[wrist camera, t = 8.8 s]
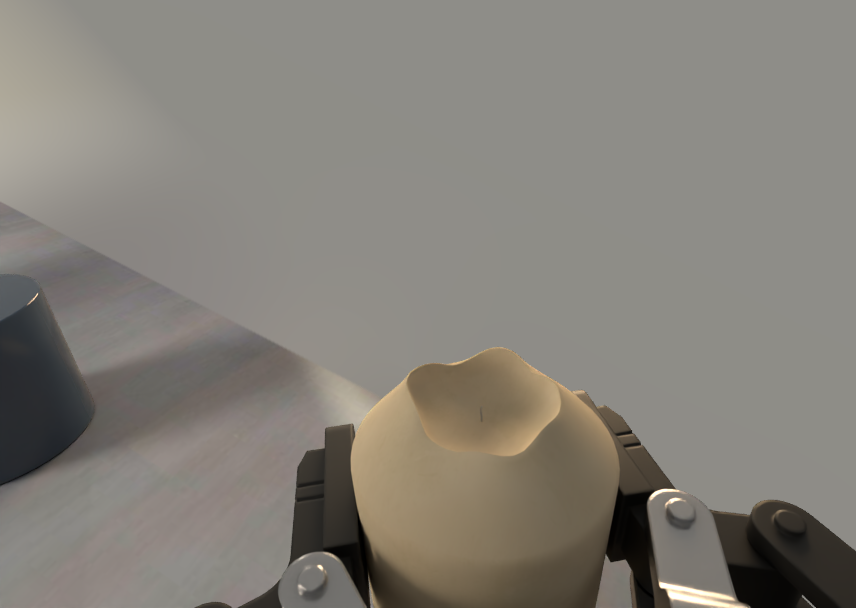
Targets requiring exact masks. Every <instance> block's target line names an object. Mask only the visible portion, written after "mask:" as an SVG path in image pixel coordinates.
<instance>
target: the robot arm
mask: <svg viewBox="0 0 856 608" xmlns="http://www.w3.org/2000/svg"><path fill="white" fill-rule="evenodd" d="M571 392H572V393H573V394H575V395H576V396H577V397H578V398H579V399H580V400H582V401H583V402H584V403H585V404H586V405H587V406H588V407H590V408H591V409H592V410H593V412H594V413H595V414H596V415H597V416H598V417H599V418H600V419H601V421H602V422H603V424H604V425H605V427H606V428H607V429H608V431H609V433H610V435H611V437H612V439H613V441H614V444H615V447H616V450H617V453H618V458H619V466H620V475H619V486H618V491H617V497H616V502H615V507H614V512H613V518H612V523H611V528H610V533H609V539H608V544H607V549H606V554H607V556H608V558H609V560H610V562H615V561H620V560H625V559H626V561H627V562H628V564H629V566H630V568H631V575H630V589H631V598H632V608H813V607H812V606H811V605H810V604H809V603H807V601H806V600H804V598H802V597H801V596H802V595H803V596H805V598H806V599H807V600H809V601H810V602H811V603H812V604H813V605H814V606H815V607H816V608H856V551H855V550H854V549H852V548H851V547H850V546H848V545H847V544H846V543H845V542H844V541H842V540H841V539H840V538H839V537H837V536H836V535H835V534H834V533H832V532H831V531H830V530H829V529H828V528H826V527H825V526H824V525H823V524H821V523H820V522H819V521H818V520H816V519H815V518H814V517H813V516H812V515H810V514H809V513H807V512H806V511H804V510H803V509H801V508H799V507H797V506H795V505H793V504H790V503H787V502H783V501H778V500H764V501H761V502H759V503H757V504H756V505H755V506H754V507H753V509H752V512H751V514H750V515H746V514H736V513H728V512H719V511H713V510H709V509H708V508H707V506H706V505H705V504H704V503H703V502H701V501H700V500H699V499H697V498H696V497H694V496H692V495H690V494H688V493H686V492H683V491H680V490H676V489H675V487H674V486H673V485H672V483H671V482H670V481H669V479H668V478H667V477H666V475H665V474H664V473H663V471H662V470H661V469H660V467H659V466H658V465H657V463H656V462H655V461H654V460H653V458H652V457H651V455H650V454H649V453H648V452H647V450H646V449H645V447H644V446H643V445H641V443H640V441H639V439H637V437H636V435H635V434H633V433H632V430H631V429H630V428H629V426H628V425H627V424H626V422H625V421H624V419H623V418H622V417H621V416H619V415H618V414H617V413H615V412H614V411H612V410H611V409H610V408H608V407H607V406H598V407H596V406H595V404H594V403H593V401H592V400H591V399H590V397H589V396H588V394H587V393H586V392H585V391H583V390H578V391H571ZM354 438H355V431H354V426H353V424H348V425H341V426H334V427H328V428H326V429H325V448H324V449H317V450H311V451H307V452H306V454H305V456H304V457H303V459H302V461H301V463H300V464H299V466H298V470H297V482H296V486H297V488H296V495H295V507H294V520H293V533H292V545H291V556H290V562H289V565H288V567H287V569H286V571H285V572H284V574H283V576H282V578H281V579H280V580H279V581H278V583H277V584H276V585H275V586H273V587H272V588H271V589H270V590H269V591H267V592H266V593H265V594H263V595H261V596H259V597H258V598H256V599H254V600H252V601H250V602H248V603H246V604H244V605H242V606H240V607H238V608H370V594H369V579H368V569H367V563H366V557H365V551H364V545H363V539H362V533H361V527H360V521H359V515H358V510H357V504H356V498H355V492H354V486H353V480H352V474H351V451H352V445H353V442H354ZM195 608H232V607H231V606H229V605H227V604H225V603H221V602H210V603H206V604H202V605H200V606H197V607H195Z"/></svg>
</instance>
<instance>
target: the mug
mask: <svg viewBox="0 0 856 608" xmlns="http://www.w3.org/2000/svg"><path fill="white" fill-rule="evenodd" d="M94 409H95V404H94V400H93V398H92V396H91V394H90V392H89V389H88V387H87V385H86V383H85V381H84V379H83V377H82V374H81V372H80V370H79V368H78V366H77V364H76V361H75V359H74V357H73V355H72V353H71V351H70V349H69V346H68V344H67V342H66V340H65V338H64V336H63V334H62V331H61V329H60V327H59V325H58V323H57V321H56V319H55V316H54V314H53V312H52V310H51V308H50V306H49V304H48V301H47V299H46V297H45V295H44V293H43V291H42V289H41V286H40V284H39V283H38V282H37V281H36V280H35V279H33V278H31V277H27V276H22V275H11V274H2V275H0V484H3V483H5V482H8V481H10V480H13V479H15V478H17V477H19V476H22V475H24V474H26V473H28V472H30V471H31V470H33V469H35V468H37V467H39V466H40V465H42V464H44V463H46V462H47V461H49V460H50V459H52V458H53V457H55V456H56V455H58V454H59V453H60V452H62V451H63V450H64V449H65V448H67V447H68V446H69V445H70V444H71V443H72V442H74V441H75V440H76V439H77V438H78V437H79V436H80V435H81V433H82V432H83V431H84V430H85V429H86V427H87V426H88V424H89V423H90V421H91V419H92V417H93V414H94Z"/></svg>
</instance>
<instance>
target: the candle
mask: <svg viewBox="0 0 856 608" xmlns="http://www.w3.org/2000/svg"><path fill="white" fill-rule="evenodd" d="M351 474H352V480H353V486H354V492H355V498H356V504H357V510H358V515H359V521H360V527H361V533H362V539H363V545H364V551H365V557H366V563H367V569H368V576H369V582H370V588H371V594H372V600H373V605H374V608H595V607H596V601H597V596H598V591H599V586H600V581H601V575H602V570H603V565H604V560H605V554H606V549H607V544H608V539H609V533H610V528H611V523H612V518H613V512H614V507H615V502H616V497H617V491H618V486H619V475H620V466H619V458H618V453H617V450H616V447H615V444H614V441H613V439H612V437H611V435H610V433H609V431H608V429H607V428H606V427H605V425H604V424H603V422H602V421H601V419H600V418H599V417H598V416H597V415H596V414H595V413H594V412H593V410H592V409H591V408H590V407H588V406H587V405H586V404H585V403H584V402H583V401H582V400H580V399H579V398H578V397H577V396H576V395H575V394H573V393H572V392H571V391H569V390H568V389H566V388H565V387H564V386H562V385H561V384H559V383H558V382H556V381H554V380H553V379H551V378H550V377H548V376H546V375H544V374H542V373H541V372H539V371H537V370H536V369H534V368H533V367H532V366H530V365H529V364H527V363H526V362H525V361H524V360H523V359H522V358H521V357H520V356H519V355H517V354H516V353H515V352H513V351H511V350H509V349H506V348H500V347H495V348H490V349H487V350H485V351H482V352H481V353H478V354H476V355H475V356H473V357H471V358H469V359H467V360H464V361H460V362H456V363H451V364H440V363H430V364H425V365H422V366H419V367H417V368H415V369H414V370H412V371H411V372H410V373H409V374H408V376H407V377H406V378H405V379H404V381H403V382H402V383H400V385H398V386H397V387H396V388H395V389H393V390H392V391H391V392H390V393H388V394H387V395H386V396H385V397H384V398H383V399H381V400H380V401H379V402H378V403H377V404H376V405H375V406H374V407H373V408H372V409H371V410H370V411H369V413H368V414H367V415H366V417H365V418H364V420H363V421H362V423H361V425H360V427H359V429H358V431H357V433H356V435H355V438H354V442H353V445H352V451H351Z"/></svg>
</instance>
